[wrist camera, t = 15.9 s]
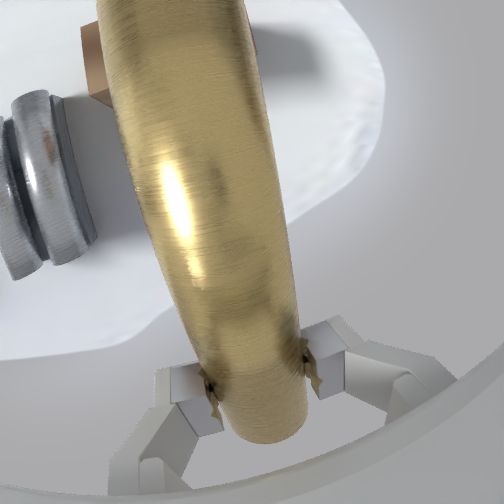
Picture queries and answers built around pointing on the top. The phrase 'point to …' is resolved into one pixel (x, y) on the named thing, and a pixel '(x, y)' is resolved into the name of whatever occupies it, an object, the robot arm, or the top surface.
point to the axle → (211, 198)
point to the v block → (40, 188)
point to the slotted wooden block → (101, 63)
